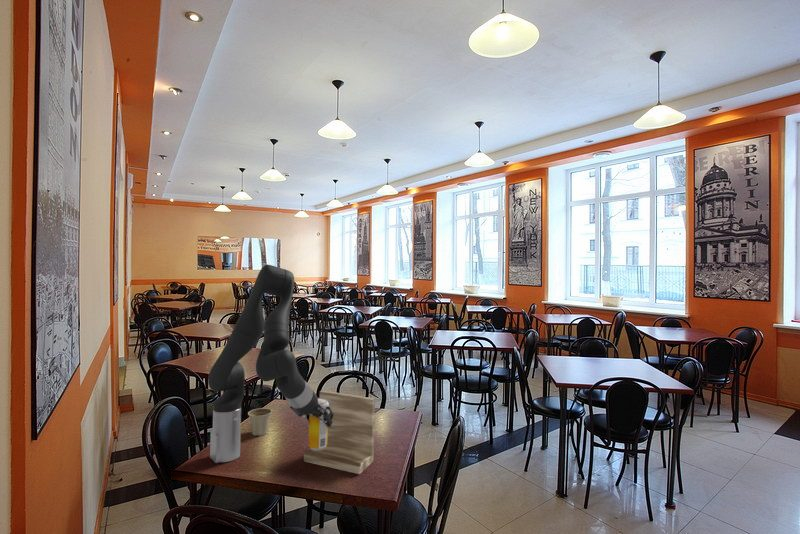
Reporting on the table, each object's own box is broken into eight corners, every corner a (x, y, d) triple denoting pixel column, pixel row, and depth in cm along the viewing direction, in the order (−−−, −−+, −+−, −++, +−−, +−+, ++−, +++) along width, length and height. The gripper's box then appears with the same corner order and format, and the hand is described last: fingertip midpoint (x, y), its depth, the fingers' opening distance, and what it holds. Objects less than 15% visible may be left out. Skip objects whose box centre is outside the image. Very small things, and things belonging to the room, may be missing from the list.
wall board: (359, 474, 134) (360, 407, 135) (303, 461, 143) (305, 398, 143) (373, 460, 144) (374, 398, 145) (320, 449, 153) (322, 390, 153)
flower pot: (242, 435, 164) (242, 414, 164) (257, 427, 173) (258, 406, 173) (261, 439, 161) (262, 417, 161) (276, 430, 170) (276, 409, 170)
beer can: (319, 441, 136) (320, 396, 136) (331, 447, 132) (332, 400, 132) (304, 447, 131) (305, 400, 131) (316, 453, 127) (318, 404, 128)
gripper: (326, 388, 122) (345, 415, 133) (287, 381, 128) (308, 408, 139) (315, 411, 117) (335, 438, 128) (275, 403, 123) (298, 429, 134)
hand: (321, 422), depth 133 cm, fingers closed on beer can, 6 cm apart
